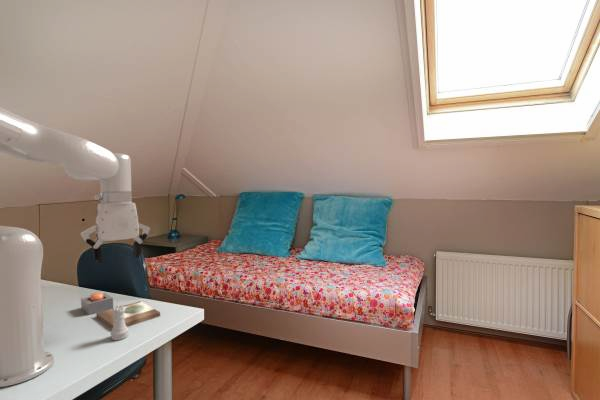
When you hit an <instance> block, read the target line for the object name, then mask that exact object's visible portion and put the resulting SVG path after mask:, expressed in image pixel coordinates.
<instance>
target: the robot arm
mask: <svg viewBox="0 0 600 400" xmlns="http://www.w3.org/2000/svg"><path fill="white" fill-rule="evenodd" d="M0 152H1V153H2V154H4V155H5V154H6V155H8V156H11V157H13V158H17V159H20V160H25V161H29V162H38V163H48V164H53V165H59V166H62V167H63V170H64V172H65V173H66V175H68V176H69V177H70V178H72V179H76V180H80V181H100V184H99V185H100V191H99V193H98V194H94V200H98V201H100V203H98V204H97V207H96V208H97V209H96V215H95V216H96V217H95V225H93V226H91V227H89V228H87V229H85V230H83V231H82V232H80V236H81V237H82V239H83V240H84V242H85V243H87V244H88V245H89V246H90V247H92V253H93V255H92V256H93V260H94V261H95V262H96V263H97V264H101V263H102V248H101V247H100V246H101V245H102V244H103V243H104V242H111V241H120V240H121V241H122V240H130V239H132V240H133V241H134V242H133V243H132V248H133V251H132V252H133V257H135V258H136V259H137V258H138V259H139V258H140V255H141V254H142V244H143V241H144V240H145V239H146V238H147V237H148V235H149V233H150V231H151V227H150V226H147V225H146V224H143V223H140V222H139V216H138V212H137V210H138V209H137V205H136V202H133V201H132V200H133V198H132V194H133V193H132V169H131V168H132V163H131V162H132V160H131V157H130V155H128V154H125V153H119V152H118V153H115V152H112V151H111V150H109V149H107V148H105V147H104V146H101V145H99V144H97V143H95V142H92V141H90V140H89V139H86V138H83V137H80V136H78V135H75V134H71V133H68V132H65V131H63V130H58V129H55V128H53V127H49V126H45V125H43V124H40V123H36V122H35V121H32V120H29V119H28V118H25V117H24V116H23V117H22V116H20V115H18V114H16V113H13V112H11V111H10V110H7V109H5V108H3V107H1V106H0ZM140 230H142V232H141V234H140ZM94 232H95V237H96V238H95V239H94V240H92V239H91V238H90V235H91V234H93V233H94ZM43 258H44V245H43V244H42V241H41V240H40V238H39V237H38V236H37V235H36V234H35V233H34V232H32V231H31V230H28V229H26V228H23V227H16V226H8V225H0V388H4V387H9V386H14V385H16V384H21V383H23V382H27V381H29V380H31V379H33V378H36V377H38V376H39V375H42V374H43V373H45V372H46V371H47V370H49V369H50V368H51V367H52V365H53V364H54V362H55V361H54V360H55V356H54V354H53V353H51V352H48V351H46V349H45V336H44V335H45V334H44V317H43V316H44V315H43V302H42V301H43V300H42V298H43V297H42V289H41V288H42V287H41V286H42V285H41V282H42V281H41V276H42V275H41V274H42V273H41V272H42V265H43V260H44V259H43Z"/></svg>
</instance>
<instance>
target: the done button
mask: <svg viewBox="0 0 600 400" xmlns="http://www.w3.org/2000/svg"><path fill="white" fill-rule="evenodd" d="M103 293H104V292H95V293H91V294H90V296H89V297H90V301H91V302H93V301H97V300H101V299H103Z"/></svg>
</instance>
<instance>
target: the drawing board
mask: <svg viewBox="0 0 600 400" xmlns="http://www.w3.org/2000/svg"><path fill="white" fill-rule="evenodd" d="M123 306H124V309H125V312H124V315H125V317H124V320H125V325H126V326H127V327H130V326H134V325H136V324H139V323H144V322H146V321H149V320H152V319H155V317H156V318H158V317H161V312H160V311H159V310H157V309H156V308H154V307H152V306H150V305H148V304H146V303H145V302H143V301H140V300H139V301H136V302H132V303H128V304H125V305H123ZM119 307H120V306H118V308H119ZM112 311H113V308H112V309H109V310H105V311H101V312H98V313H95V314H96V315H95V316H96V318H97V319H98V320H100V321H101V322H102V323H104V324H105V325H106V326H108V327H109V328H110V329H112V328H113V326H114V318H113V317H114V314H113V313H112Z"/></svg>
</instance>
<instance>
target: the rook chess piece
mask: <svg viewBox="0 0 600 400" xmlns="http://www.w3.org/2000/svg"><path fill="white" fill-rule="evenodd" d="M118 307H119V308H118ZM112 309H113V311H112V313H113V314H114V317H113V318H114V326H113V328H111V331H110V336H109V337H110V339H111V340H112V341H122V340H124V339H126V338H127V337H128V336H129V335H130V331H129V327H128V326H126V325H125V320H124V317H125V315H124V312H125V309H124V305H116V306H113V308H112Z"/></svg>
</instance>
